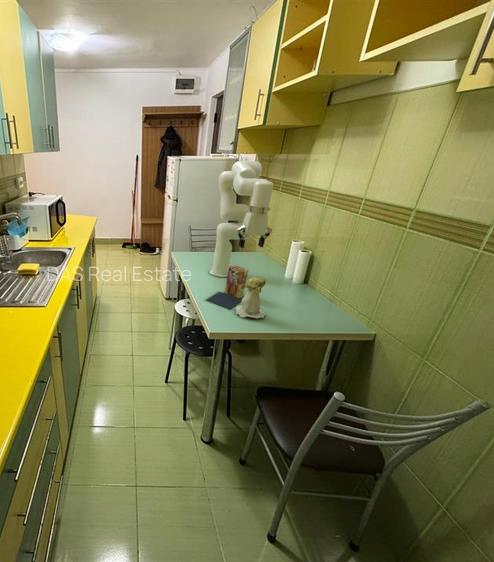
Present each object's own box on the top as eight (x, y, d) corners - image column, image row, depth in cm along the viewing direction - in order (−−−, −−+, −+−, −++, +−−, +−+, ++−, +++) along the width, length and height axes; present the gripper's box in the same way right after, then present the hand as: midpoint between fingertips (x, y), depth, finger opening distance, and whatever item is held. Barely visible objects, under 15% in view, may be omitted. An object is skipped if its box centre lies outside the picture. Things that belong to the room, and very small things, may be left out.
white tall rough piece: (268, 321, 136) (278, 284, 129) (239, 319, 137) (247, 282, 129) (259, 308, 147) (267, 273, 140) (232, 307, 148) (239, 272, 140)
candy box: (243, 296, 159) (249, 269, 153) (239, 298, 157) (244, 271, 150) (228, 290, 165) (233, 264, 159) (223, 292, 163) (228, 266, 157)
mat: (219, 292, 163) (219, 291, 163) (242, 300, 155) (243, 299, 155) (206, 300, 154) (206, 299, 154) (230, 309, 146) (230, 308, 146)
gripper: (271, 208, 139) (263, 244, 146) (236, 208, 137) (229, 244, 144) (281, 211, 132) (272, 249, 140) (244, 212, 130) (237, 250, 137)
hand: (250, 246), depth 142 cm, fingers open, 9 cm apart
